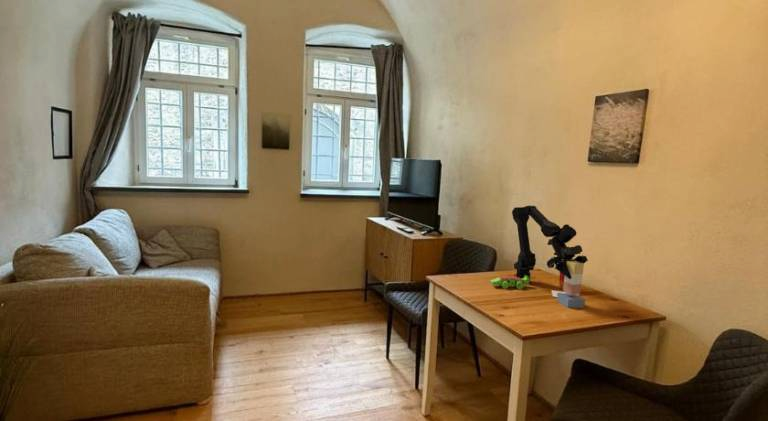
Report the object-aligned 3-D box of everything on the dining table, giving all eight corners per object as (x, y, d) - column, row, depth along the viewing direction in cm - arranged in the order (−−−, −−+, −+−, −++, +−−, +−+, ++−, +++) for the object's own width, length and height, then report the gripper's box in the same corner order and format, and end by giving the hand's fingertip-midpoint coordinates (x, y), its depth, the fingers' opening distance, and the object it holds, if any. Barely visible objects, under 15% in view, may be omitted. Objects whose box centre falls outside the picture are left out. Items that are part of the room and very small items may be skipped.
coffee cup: (571, 286, 215) (574, 258, 213) (576, 291, 207) (580, 262, 204) (554, 285, 215) (557, 256, 213) (559, 290, 207) (562, 261, 205)
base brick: (557, 301, 191) (558, 293, 191) (573, 301, 193) (574, 293, 192) (567, 308, 184) (568, 299, 183) (584, 308, 185) (585, 299, 184)
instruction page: (552, 296, 197) (553, 295, 197) (551, 290, 206) (551, 290, 206) (580, 300, 194) (580, 299, 194) (577, 294, 202) (578, 293, 202)
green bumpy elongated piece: (492, 288, 205) (493, 277, 204) (488, 284, 212) (489, 273, 211) (531, 289, 207) (532, 277, 206) (525, 285, 213) (527, 273, 212)
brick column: (562, 290, 189) (566, 261, 187) (571, 290, 191) (575, 260, 189) (570, 294, 184) (574, 264, 182) (580, 294, 186) (583, 263, 184)
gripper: (553, 239, 185) (569, 270, 176) (587, 238, 191) (603, 268, 182) (540, 252, 194) (554, 282, 185) (572, 251, 199) (587, 280, 191)
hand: (575, 278), depth 185 cm, fingers closed on brick column, 5 cm apart
